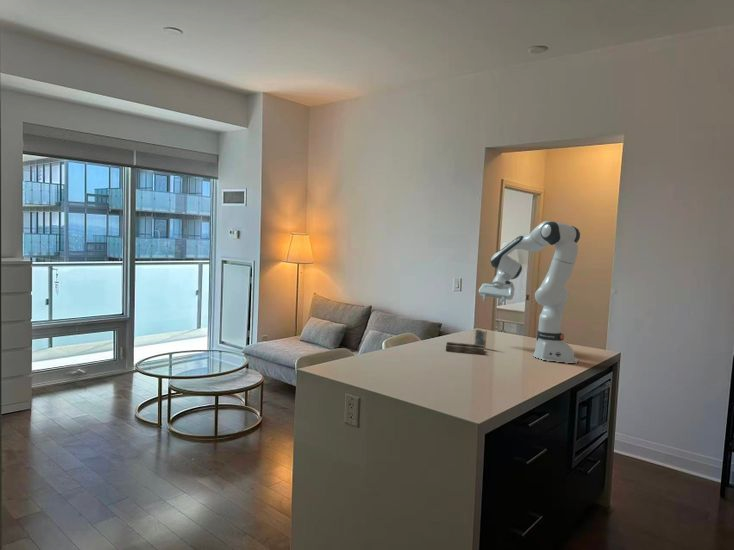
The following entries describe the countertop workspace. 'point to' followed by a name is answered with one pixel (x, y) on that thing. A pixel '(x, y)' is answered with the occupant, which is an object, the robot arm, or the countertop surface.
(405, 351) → the countertop surface
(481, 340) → the wooden block
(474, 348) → the bridge
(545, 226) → the robot arm
